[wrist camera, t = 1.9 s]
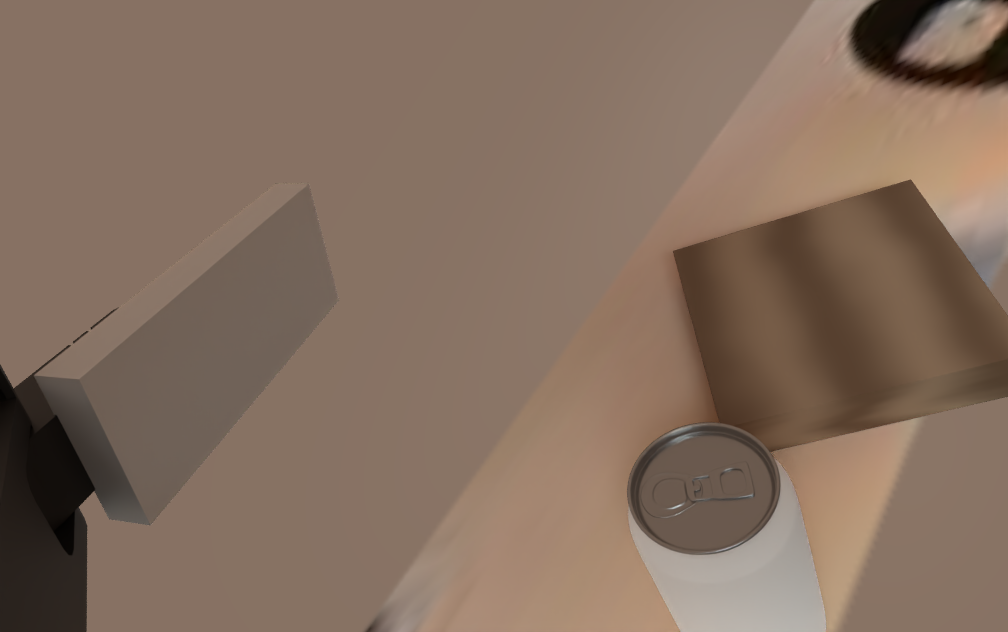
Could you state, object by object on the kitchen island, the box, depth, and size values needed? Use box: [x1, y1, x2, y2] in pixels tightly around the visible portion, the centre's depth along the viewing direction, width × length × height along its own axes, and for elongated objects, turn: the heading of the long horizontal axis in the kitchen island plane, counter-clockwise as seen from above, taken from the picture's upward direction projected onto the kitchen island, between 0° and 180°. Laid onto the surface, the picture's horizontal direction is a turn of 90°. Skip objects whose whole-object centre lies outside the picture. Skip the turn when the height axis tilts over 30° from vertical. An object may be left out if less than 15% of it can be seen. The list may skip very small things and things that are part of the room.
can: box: [627, 422, 826, 632], centre depth 33 cm, size 6×6×12 cm
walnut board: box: [673, 180, 1008, 451], centre depth 46 cm, size 15×15×3 cm
